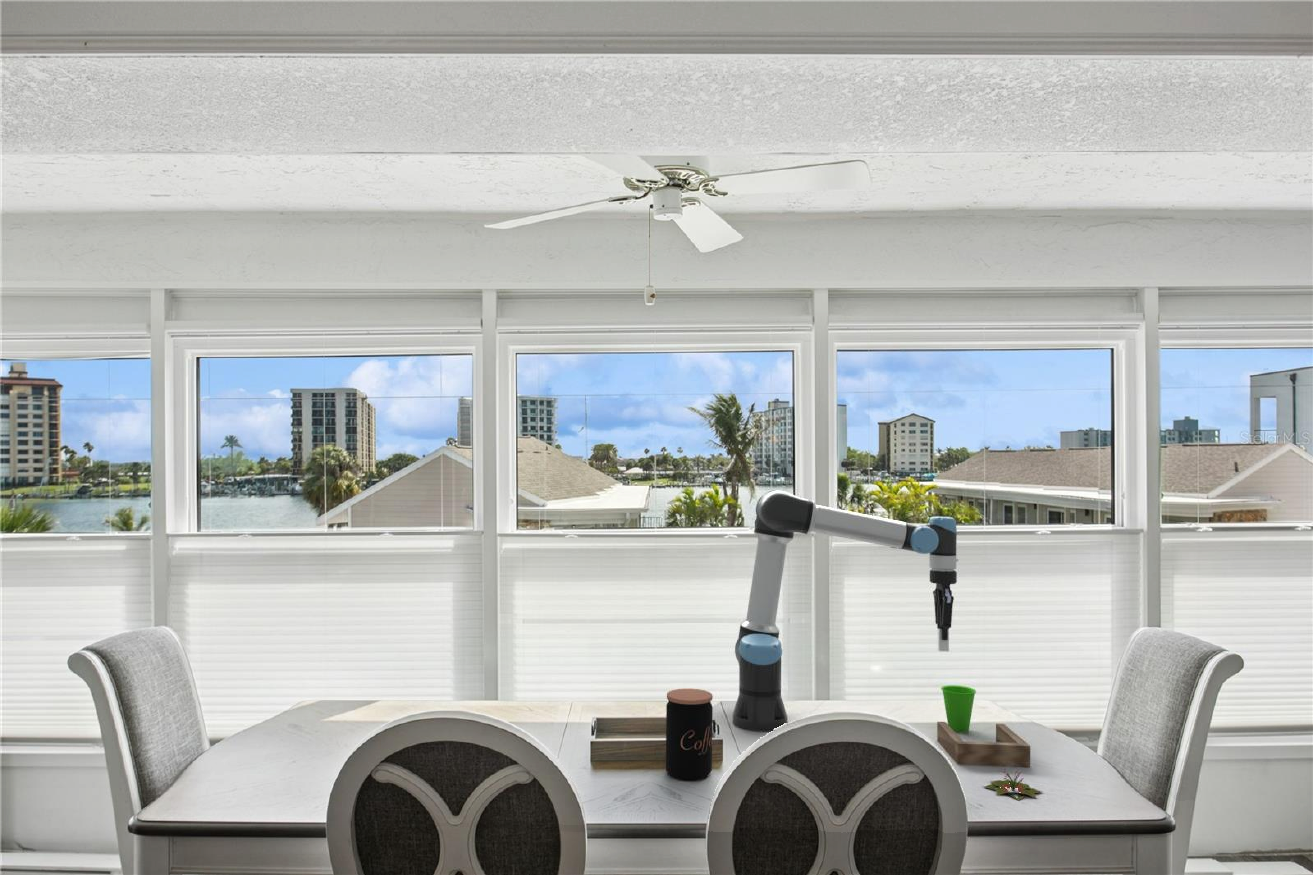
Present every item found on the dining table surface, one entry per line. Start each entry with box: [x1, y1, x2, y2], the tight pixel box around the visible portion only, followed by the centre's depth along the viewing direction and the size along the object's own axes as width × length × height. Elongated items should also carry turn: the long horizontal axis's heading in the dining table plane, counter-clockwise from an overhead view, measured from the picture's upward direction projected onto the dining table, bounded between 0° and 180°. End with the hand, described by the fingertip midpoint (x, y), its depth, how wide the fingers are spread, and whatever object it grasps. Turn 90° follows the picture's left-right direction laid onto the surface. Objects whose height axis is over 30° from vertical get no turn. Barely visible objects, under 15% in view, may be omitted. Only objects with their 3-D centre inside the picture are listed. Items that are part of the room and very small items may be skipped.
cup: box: [940, 684, 977, 734], centre depth 228 cm, size 9×9×11 cm
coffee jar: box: [665, 688, 714, 782], centre depth 191 cm, size 11×11×18 cm
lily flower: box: [985, 768, 1042, 801], centre depth 184 cm, size 12×12×5 cm
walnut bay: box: [936, 721, 1031, 768], centre depth 208 cm, size 17×18×5 cm
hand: (943, 650), depth 243 cm, fingers closed
